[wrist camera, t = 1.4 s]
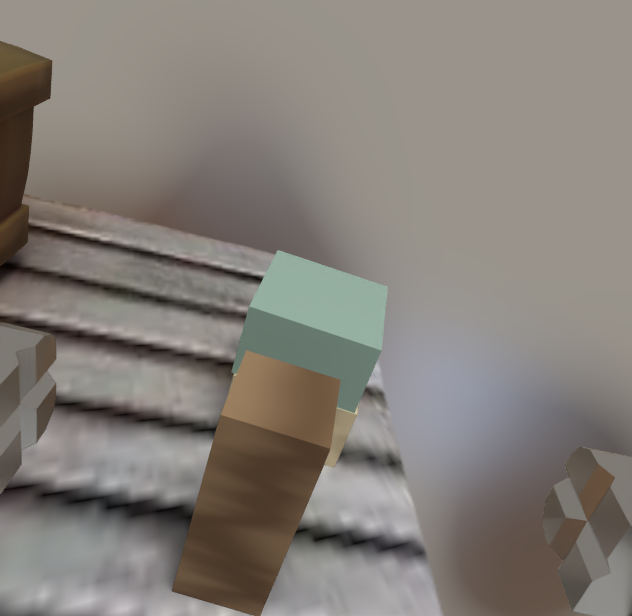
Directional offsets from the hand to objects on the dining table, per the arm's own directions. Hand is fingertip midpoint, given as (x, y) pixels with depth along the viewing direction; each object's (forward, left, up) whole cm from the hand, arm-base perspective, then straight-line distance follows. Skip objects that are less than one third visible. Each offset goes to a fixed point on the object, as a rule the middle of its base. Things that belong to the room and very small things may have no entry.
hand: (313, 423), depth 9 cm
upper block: (+1, +26, -17) cm, 31 cm away
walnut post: (0, +13, -22) cm, 25 cm away
